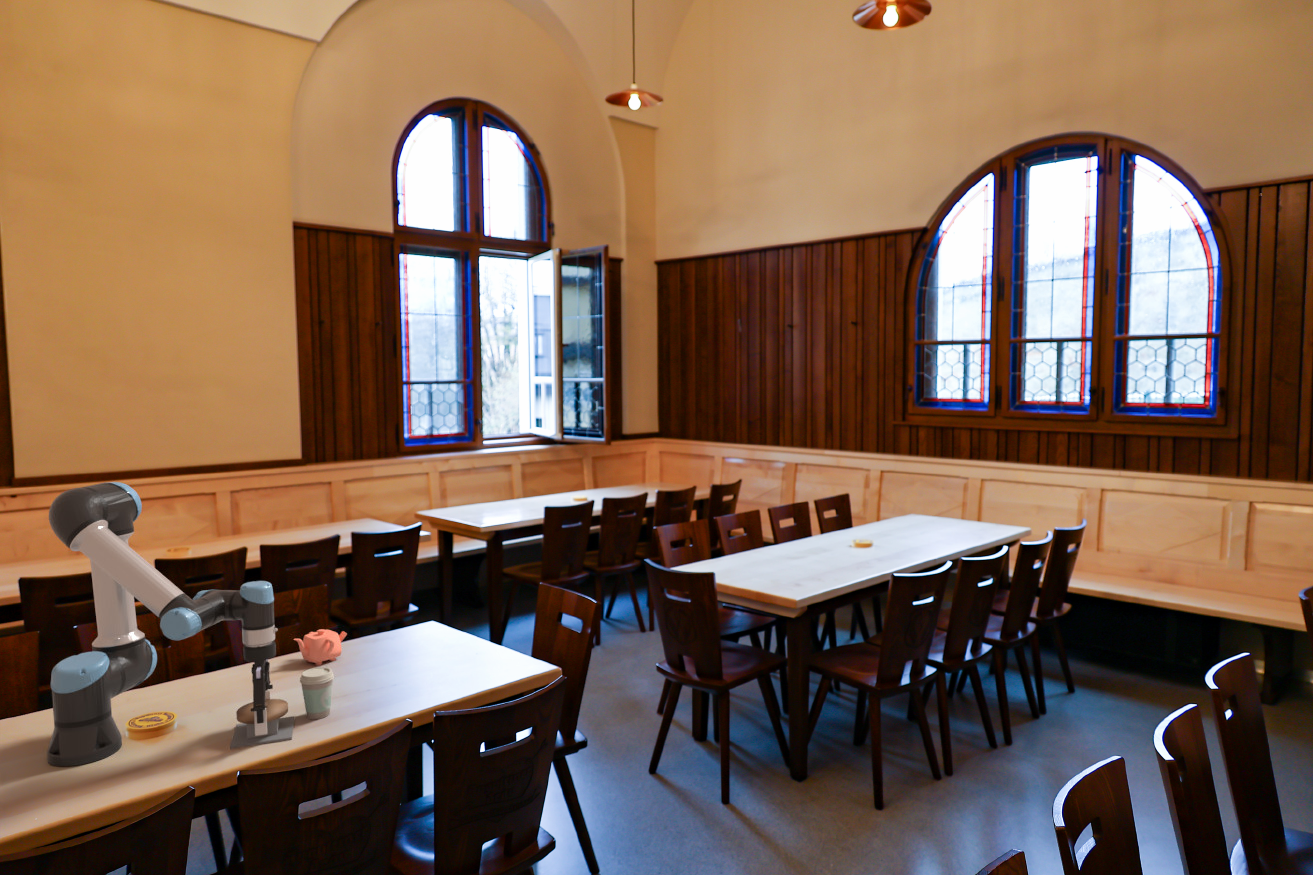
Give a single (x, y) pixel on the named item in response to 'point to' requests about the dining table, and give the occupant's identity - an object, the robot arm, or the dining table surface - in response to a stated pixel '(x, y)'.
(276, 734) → the grey stepped base plate
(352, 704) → the dining table surface
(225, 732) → the dining table surface
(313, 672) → the coffee cup
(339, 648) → the teapot
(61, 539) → the robot arm
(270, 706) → the lid
